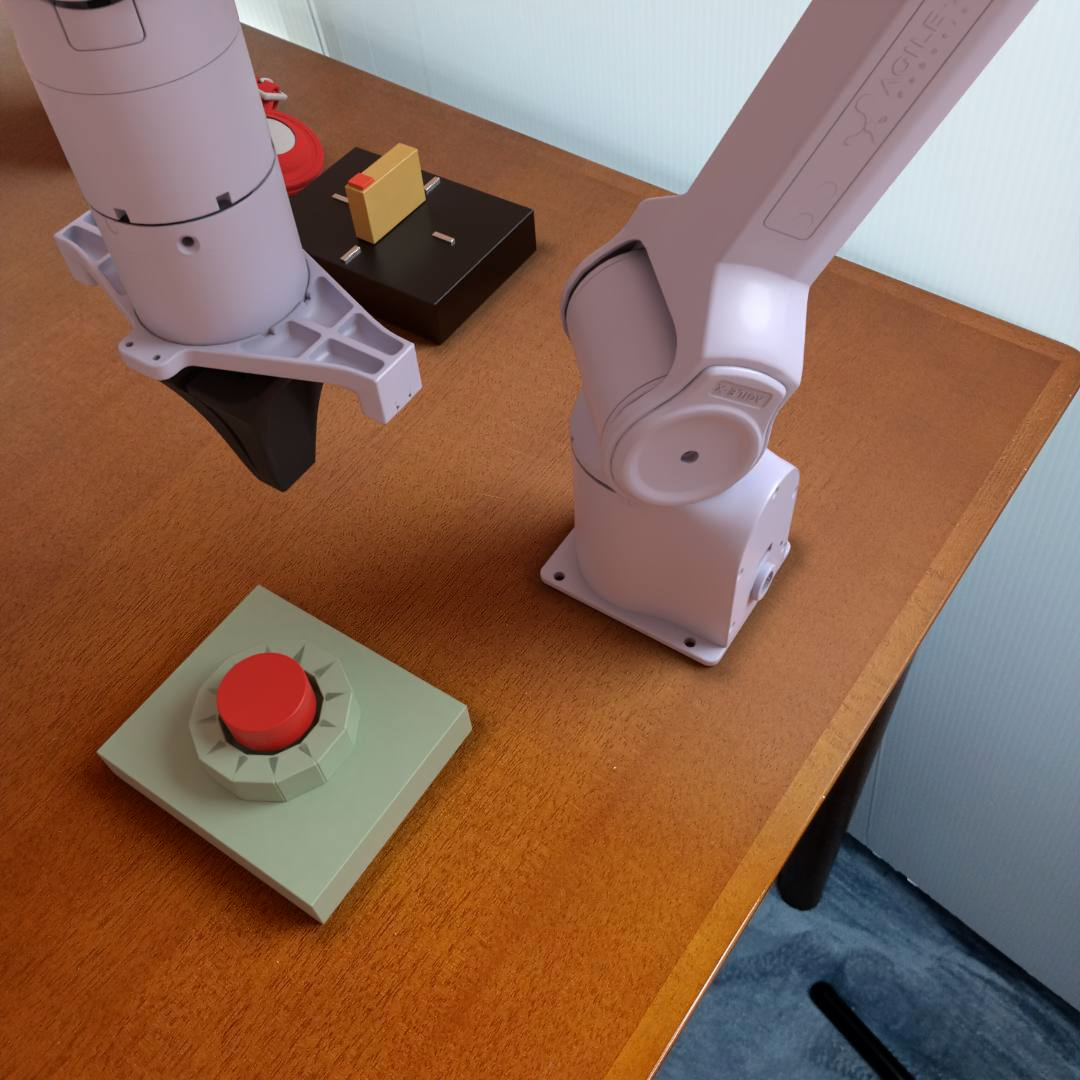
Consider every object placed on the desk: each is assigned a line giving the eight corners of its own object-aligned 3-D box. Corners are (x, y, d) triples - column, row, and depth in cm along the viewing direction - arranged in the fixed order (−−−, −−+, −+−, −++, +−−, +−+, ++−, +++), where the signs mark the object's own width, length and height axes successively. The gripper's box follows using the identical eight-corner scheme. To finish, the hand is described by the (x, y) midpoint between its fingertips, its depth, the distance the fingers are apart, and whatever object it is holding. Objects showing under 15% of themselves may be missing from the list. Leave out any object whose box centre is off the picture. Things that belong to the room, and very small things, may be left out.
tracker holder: (352, 164, 71) (208, 187, 66) (344, 215, 75) (206, 241, 70) (276, 50, 76) (135, 64, 71) (272, 103, 79) (137, 120, 74)
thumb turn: (408, 193, 66) (398, 138, 63) (426, 199, 65) (417, 145, 62) (356, 237, 63) (343, 182, 60) (374, 244, 63) (362, 189, 60)
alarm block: (473, 729, 47) (462, 684, 43) (324, 925, 42) (299, 890, 39) (270, 610, 51) (247, 560, 48) (115, 774, 46) (77, 731, 43)
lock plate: (537, 250, 66) (534, 206, 64) (441, 345, 62) (433, 302, 59) (364, 185, 72) (355, 143, 69) (263, 269, 67) (249, 226, 64)
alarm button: (334, 699, 44) (325, 677, 42) (275, 768, 42) (264, 748, 41) (270, 659, 45) (259, 637, 44) (210, 724, 43) (196, 703, 42)
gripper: (-85, 168, 32) (87, 465, 43) (272, 328, 27) (367, 621, 38) (89, 60, 36) (208, 360, 47) (436, 184, 31) (480, 490, 41)
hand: (287, 470), depth 42 cm, fingers closed
